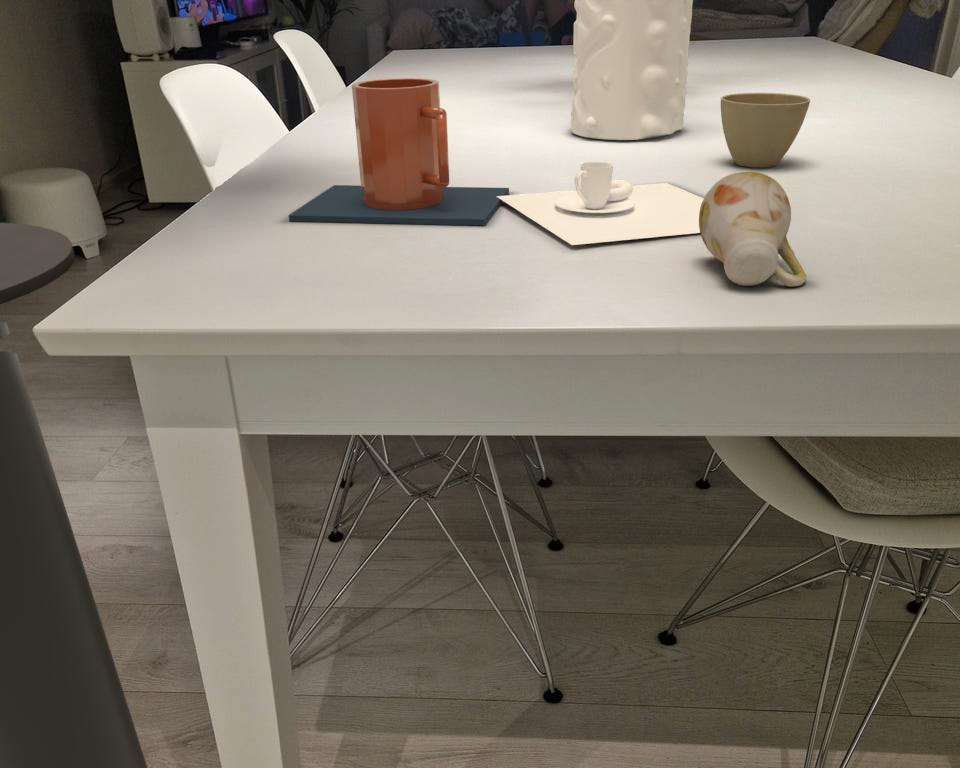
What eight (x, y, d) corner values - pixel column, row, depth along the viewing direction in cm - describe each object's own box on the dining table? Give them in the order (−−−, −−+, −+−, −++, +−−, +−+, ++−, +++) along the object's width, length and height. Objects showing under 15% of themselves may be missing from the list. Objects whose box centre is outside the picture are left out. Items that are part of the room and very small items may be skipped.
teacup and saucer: (619, 195, 96) (622, 154, 94) (655, 213, 90) (659, 168, 88) (541, 202, 94) (543, 159, 92) (573, 220, 87) (575, 175, 85)
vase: (559, 125, 138) (563, -141, 120) (665, 120, 139) (685, -144, 121) (580, 145, 123) (589, -154, 106) (698, 139, 124) (727, -157, 107)
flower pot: (746, 175, 105) (755, 106, 101) (697, 160, 112) (703, 96, 108) (818, 166, 108) (829, 99, 104) (765, 153, 115) (774, 89, 111)
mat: (289, 221, 92) (288, 215, 92) (334, 190, 104) (333, 185, 103) (484, 225, 89) (484, 219, 88) (509, 193, 100) (509, 187, 100)
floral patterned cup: (705, 297, 69) (687, 164, 69) (712, 315, 79) (696, 198, 78) (810, 276, 67) (792, 137, 66) (804, 297, 76) (788, 176, 76)
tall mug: (347, 201, 96) (335, 84, 90) (409, 188, 101) (402, 76, 95) (416, 219, 89) (408, 93, 83) (479, 204, 94) (476, 83, 88)
